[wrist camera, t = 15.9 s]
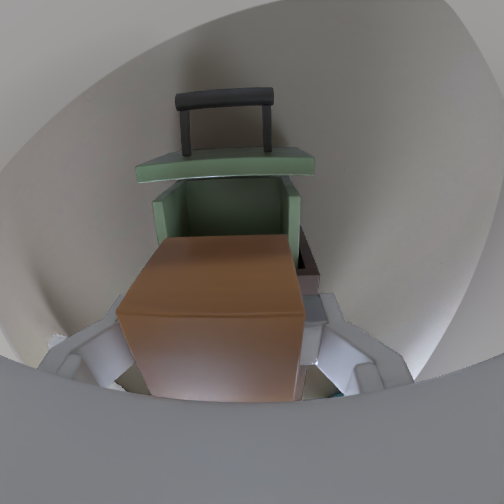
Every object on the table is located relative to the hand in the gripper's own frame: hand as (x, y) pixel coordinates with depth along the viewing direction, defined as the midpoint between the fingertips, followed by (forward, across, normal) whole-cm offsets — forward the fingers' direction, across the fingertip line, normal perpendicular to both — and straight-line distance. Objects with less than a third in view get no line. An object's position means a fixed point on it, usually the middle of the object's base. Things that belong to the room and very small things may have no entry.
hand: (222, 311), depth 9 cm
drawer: (+18, +1, +1) cm, 18 cm away
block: (+2, 0, 0) cm, 2 cm away
